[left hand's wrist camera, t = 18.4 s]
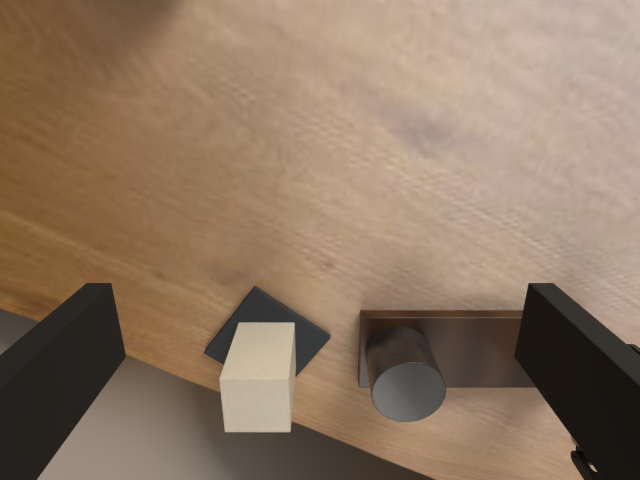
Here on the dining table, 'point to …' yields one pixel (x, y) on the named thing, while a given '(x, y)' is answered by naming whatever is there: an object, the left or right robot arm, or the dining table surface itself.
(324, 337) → the coaster
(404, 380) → the stand
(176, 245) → the dining table surface
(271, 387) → the cream rectangular block
